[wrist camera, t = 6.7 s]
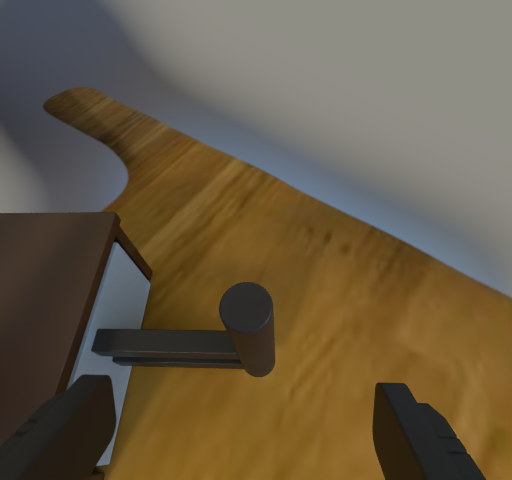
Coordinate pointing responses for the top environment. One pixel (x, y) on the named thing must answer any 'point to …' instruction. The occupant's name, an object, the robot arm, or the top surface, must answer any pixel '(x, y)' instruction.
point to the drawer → (169, 333)
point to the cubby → (49, 302)
